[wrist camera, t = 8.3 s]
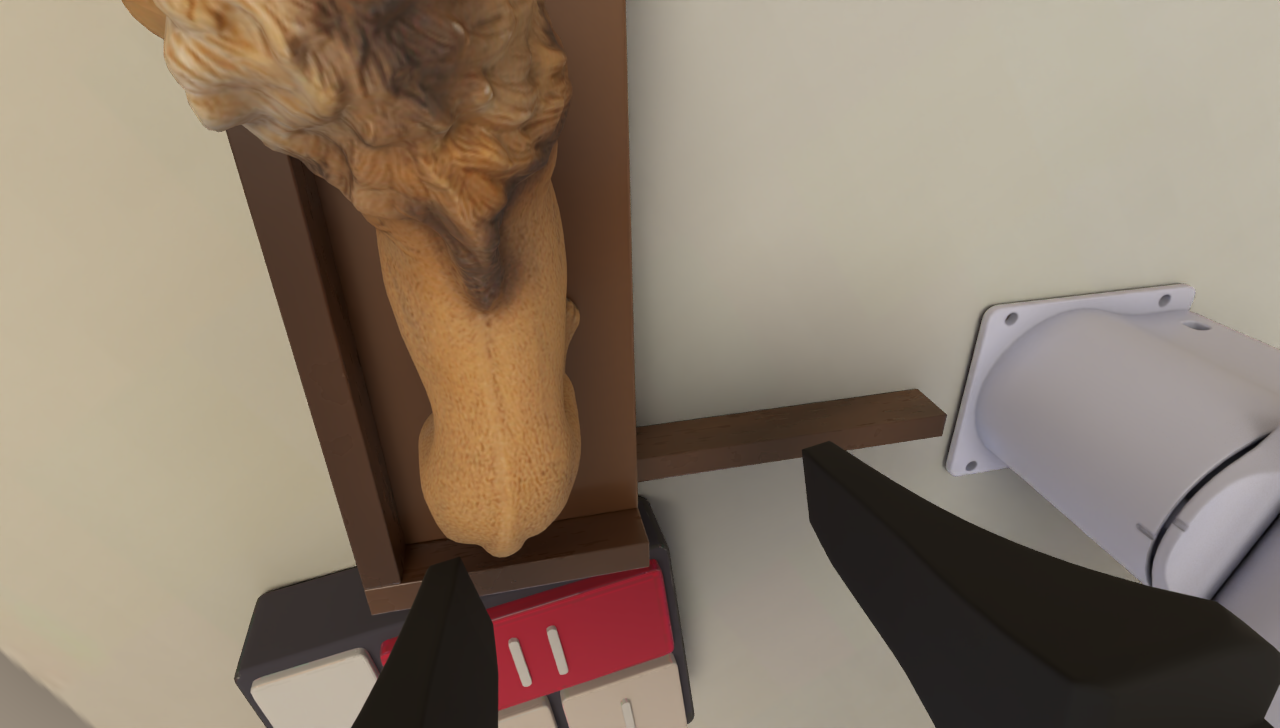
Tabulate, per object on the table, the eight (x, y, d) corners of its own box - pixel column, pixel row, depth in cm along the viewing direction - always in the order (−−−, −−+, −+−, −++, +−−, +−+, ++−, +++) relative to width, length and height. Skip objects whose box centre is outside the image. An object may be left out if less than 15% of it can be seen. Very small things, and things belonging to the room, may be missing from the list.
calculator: (702, 739, 29) (344, 867, 26) (672, 656, 33) (355, 762, 30) (675, 557, 23) (220, 697, 21) (642, 482, 27) (252, 594, 25)
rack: (1057, -272, 17) (1300, -385, 12) (913, 409, 28) (1014, 503, 22) (196, -323, 14) (29, -515, 9) (393, 483, 24) (371, 615, 19)
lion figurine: (185, -114, 12) (-351, -326, 4) (476, -183, 12) (479, -493, 5) (470, 494, 19) (468, 822, 12) (646, 438, 20) (757, 720, 12)
